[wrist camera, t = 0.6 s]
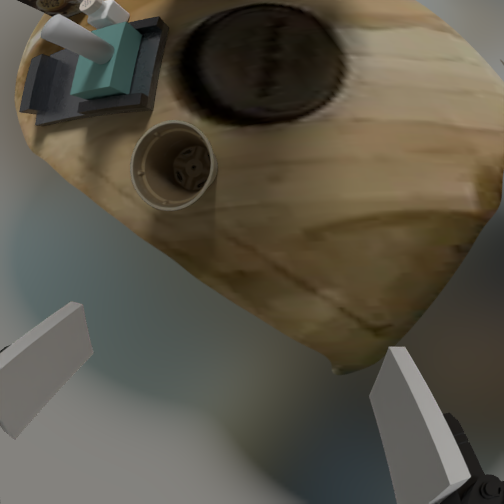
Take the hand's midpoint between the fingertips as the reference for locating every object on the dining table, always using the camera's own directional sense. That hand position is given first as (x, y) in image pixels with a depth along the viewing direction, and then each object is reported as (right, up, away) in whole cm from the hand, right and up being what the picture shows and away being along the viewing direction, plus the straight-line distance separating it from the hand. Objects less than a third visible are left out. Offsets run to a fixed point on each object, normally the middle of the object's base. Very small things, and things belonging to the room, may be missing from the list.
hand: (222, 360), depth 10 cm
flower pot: (-6, +15, +24) cm, 29 cm away
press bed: (-24, +32, +22) cm, 45 cm away
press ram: (-18, +31, +19) cm, 40 cm away
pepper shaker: (-21, +41, +19) cm, 50 cm away
